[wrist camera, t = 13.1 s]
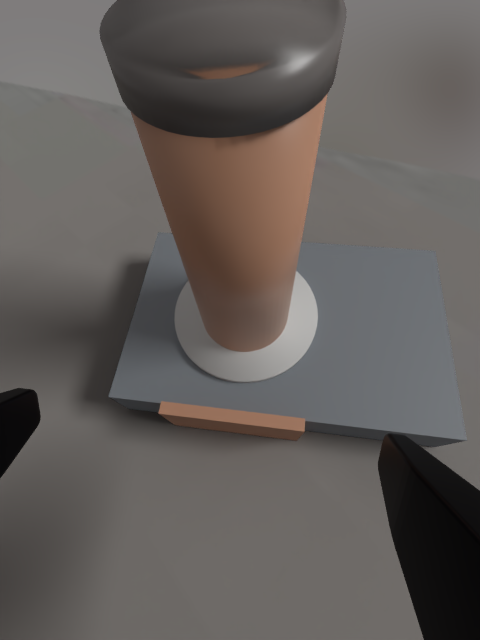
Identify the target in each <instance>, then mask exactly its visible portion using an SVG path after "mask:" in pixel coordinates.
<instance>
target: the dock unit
mask: <svg viewBox="0 0 480 640" xmlns="http://www.w3.org/2000/svg"><path fill="white" fill-rule="evenodd" d="M108 397H109V398H111V399H113V400H114V401H116V402H118V403H120V404H121V405H123V406H125V407H127V408H128V409H135V410H143V411H151V412H159V413H158V414H160V415H161V416H163V417H164V418H166V419H167V420H168V421H170V422H171V423H173V424H174V425H177V426H185V427H193V428H201V429H208V430H216V431H224V432H232V433H240V434H248V435H255V436H263V437H271V438H279V439H287V440H295V441H297V440H298V438H299V437H300V436H301V435H302V434H303V433H304V432H305V431H312V432H320V433H328V434H336V435H344V436H352V437H360V438H368V439H376V440H383V439H384V436H385V434H387V433H396V434H403V435H405V436H407V437H408V438H410V439H411V440H412V441H414V442H415V443H416V444H418V445H424V446H432V447H438V446H442V445H447V444H452V443H457V442H462V441H467V438H466V432H465V426H464V420H463V414H462V408H461V402H460V396H459V390H458V384H457V378H456V372H455V366H454V360H453V354H452V348H451V342H450V336H449V330H448V324H447V318H446V312H445V306H444V300H443V294H442V288H441V282H440V276H439V270H438V264H437V258H436V252H435V251H428V250H413V249H399V248H384V247H369V246H354V245H339V244H324V243H309V242H301V246H300V252H299V258H298V263H297V269H296V275H295V280H294V286H293V291H292V297H291V303H290V308H289V314H288V319H287V324H286V326H285V329H284V330H283V332H282V334H281V335H280V336H279V337H278V338H277V339H276V340H275V341H274V342H273V343H271V344H270V345H268V346H266V347H265V348H262V349H259V350H256V351H250V352H239V351H233V350H229V349H227V348H224V347H222V346H221V345H219V344H218V343H216V342H215V341H214V340H213V339H212V338H211V337H210V336H209V334H208V333H207V331H206V329H205V327H204V324H203V321H202V318H201V315H200V312H199V309H198V307H197V304H196V301H195V298H194V295H193V292H192V289H191V286H190V283H189V280H188V277H187V274H186V272H185V269H184V266H183V263H182V260H181V257H180V254H179V251H178V248H177V245H176V242H175V239H174V236H173V234H172V233H161V232H158V235H157V238H156V242H155V245H154V248H153V252H152V255H151V258H150V261H149V265H148V268H147V271H146V275H145V278H144V281H143V284H142V288H141V291H140V294H139V298H138V301H137V304H136V307H135V311H134V314H133V317H132V321H131V324H130V327H129V330H128V334H127V337H126V340H125V344H124V347H123V350H122V353H121V357H120V360H119V363H118V367H117V370H116V373H115V376H114V380H113V383H112V386H111V390H110V393H109V396H108Z"/></svg>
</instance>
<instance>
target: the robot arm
mask: <svg viewBox="0 0 480 640" xmlns="http://www.w3.org/2000/svg"><path fill="white" fill-rule="evenodd" d="M40 417H41V416H40V409H39V403H38V397H37V393H36V392H35V391H34V390H31V389H23V388H17V389H13V390H10V391H6V392H3V393H0V478H1V477H2V475H3V474H4V473H5V471H6V470H7V469H8V467H9V466H10V464H11V463H12V462H13V460H14V459H15V457H16V456H17V455H18V453H19V452H20V450H21V449H22V448H23V446H24V445H25V443H26V442H27V441H28V439H29V438H30V436H31V435H32V433H33V432H34V431H35V429H36V428H37V426H38V425H39V422H40ZM378 471H379V476H380V481H381V486H382V491H383V496H384V501H385V506H386V511H387V516H388V521H389V526H390V530H391V534H392V538H393V542H394V545H395V549H396V552H397V555H398V558H399V561H400V565H401V568H402V571H403V574H404V577H405V581H406V584H407V587H408V590H409V593H410V597H411V600H412V603H413V606H414V609H415V613H416V616H417V619H418V622H419V625H420V629H421V632H422V635H423V638H424V640H480V491H479V490H478V489H477V488H475V487H474V486H473V485H471V484H470V483H469V482H467V481H466V480H465V479H463V478H462V477H461V476H459V475H458V474H457V473H455V472H454V471H453V470H451V469H450V468H449V467H447V466H446V465H445V464H443V463H442V462H441V461H439V460H438V459H436V458H435V457H434V456H432V455H431V454H430V453H428V452H427V451H426V450H424V449H423V448H422V447H420V446H419V445H418V444H416V443H415V442H414V441H412V440H411V439H410V438H408V437H407V436H405V435H403V434H396V433H387V434H385V436H384V439H383V443H382V447H381V451H380V456H379V460H378Z"/></svg>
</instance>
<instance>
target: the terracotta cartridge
mask: <svg viewBox="0 0 480 640" xmlns="http://www.w3.org/2000/svg"><path fill="white" fill-rule="evenodd" d="M345 21H346V7H345V3H344V1H343V0H117V1H116V2H115V3H114V4H113V5H112V6H111V7H110V8H109V10H108V11H107V12H106V14H105V15H104V18H103V20H102V22H101V26H100V39H101V42H102V45H103V47H104V50H105V53H106V56H107V59H108V62H109V64H110V67H111V70H112V73H113V76H114V78H115V81H116V84H117V87H118V90H119V93H120V95H121V98H122V100H123V102H124V103H125V105H126V106H127V108H128V109H129V110H130V111H131V114H132V117H133V120H134V123H135V126H136V128H137V131H138V134H139V137H140V140H141V143H142V146H143V149H144V152H145V155H146V158H147V161H148V163H149V166H150V169H151V172H152V175H153V178H154V181H155V184H156V187H157V190H158V193H159V196H160V199H161V201H162V204H163V207H164V210H165V213H166V216H167V219H168V222H169V225H170V228H171V231H172V234H173V236H174V239H175V242H176V245H177V248H178V251H179V254H180V257H181V260H182V263H183V266H184V269H185V272H186V274H187V277H188V280H189V283H190V286H191V289H192V292H193V295H194V298H195V301H196V304H197V307H198V309H199V312H200V315H201V318H202V321H203V324H204V327H205V329H206V331H207V333H208V334H209V336H210V337H211V338H212V339H213V340H214V341H215V342H216V343H218V344H219V345H221V346H222V347H224V348H227V349H229V350H233V351H239V352H250V351H256V350H259V349H262V348H265V347H266V346H268V345H270V344H271V343H273V342H274V341H275V340H276V339H277V338H278V337H279V336H280V335H281V334H282V332H283V330H284V329H285V326H286V324H287V319H288V314H289V308H290V303H291V297H292V291H293V286H294V280H295V275H296V269H297V263H298V258H299V252H300V246H301V241H302V235H303V229H304V224H305V218H306V212H307V207H308V201H309V195H310V190H311V184H312V178H313V173H314V167H315V161H316V156H317V150H318V144H319V139H320V133H321V127H322V122H323V116H324V111H325V105H326V99H327V94H328V92H329V90H330V88H331V86H332V85H333V82H334V78H335V74H336V68H337V64H338V59H339V53H340V48H341V43H342V37H343V32H344V26H345Z"/></svg>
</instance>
